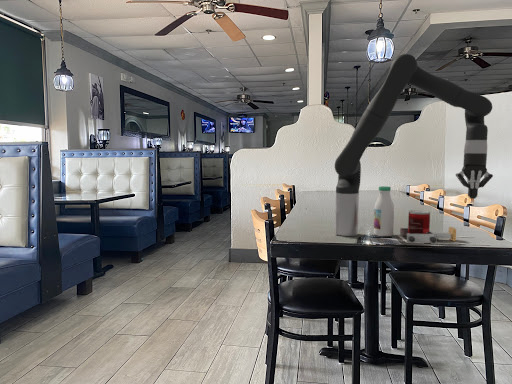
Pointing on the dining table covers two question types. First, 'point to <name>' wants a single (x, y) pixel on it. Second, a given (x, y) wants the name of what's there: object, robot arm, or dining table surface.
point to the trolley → (428, 235)
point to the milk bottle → (384, 213)
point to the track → (442, 243)
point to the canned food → (419, 221)
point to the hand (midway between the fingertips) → (472, 198)
